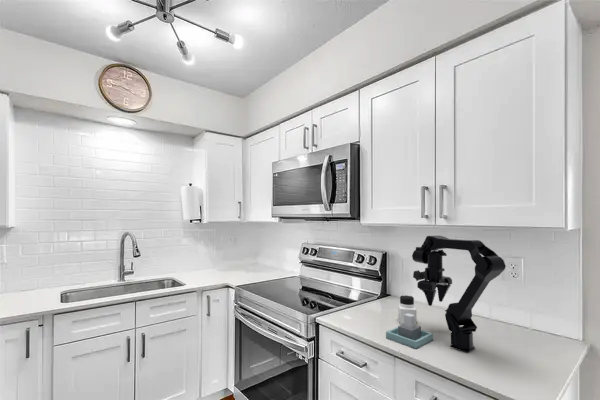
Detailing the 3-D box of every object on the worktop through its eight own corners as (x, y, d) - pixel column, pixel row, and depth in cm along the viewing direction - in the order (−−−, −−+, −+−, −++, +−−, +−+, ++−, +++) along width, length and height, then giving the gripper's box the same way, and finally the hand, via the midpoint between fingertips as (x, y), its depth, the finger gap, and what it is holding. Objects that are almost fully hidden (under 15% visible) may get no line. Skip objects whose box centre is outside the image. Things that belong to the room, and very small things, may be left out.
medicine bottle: (416, 325, 137) (416, 298, 137) (400, 324, 138) (399, 297, 139) (413, 320, 144) (413, 294, 144) (398, 318, 145) (398, 293, 146)
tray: (433, 340, 121) (433, 333, 121) (416, 349, 112) (416, 342, 112) (403, 330, 131) (403, 324, 131) (386, 338, 122) (386, 331, 122)
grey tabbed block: (421, 337, 121) (420, 315, 122) (412, 342, 117) (411, 318, 117) (407, 333, 126) (407, 311, 126) (398, 337, 121) (397, 314, 122)
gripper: (427, 261, 139) (427, 295, 138) (405, 265, 127) (405, 303, 126) (452, 264, 130) (452, 301, 130) (431, 269, 118) (431, 309, 118)
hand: (435, 303), depth 126 cm, fingers open, 9 cm apart
